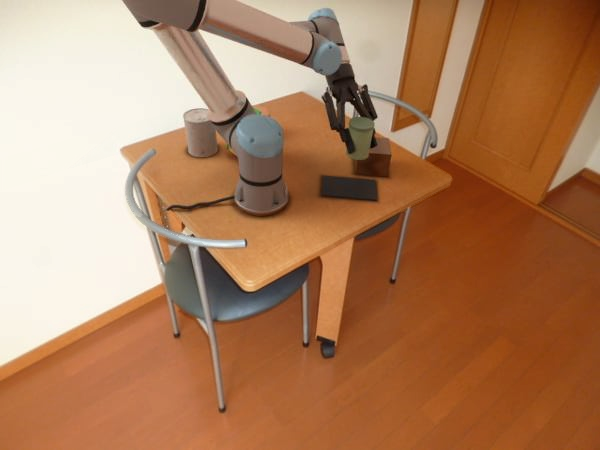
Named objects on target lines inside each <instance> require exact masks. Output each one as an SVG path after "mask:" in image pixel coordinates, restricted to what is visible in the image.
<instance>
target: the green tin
mask: <svg viewBox="0 0 600 450" xmlns="http://www.w3.org/2000/svg"><path fill="white" fill-rule="evenodd" d="M375 125H376V124H375V122H374V121H372V120H371V119H369V118H365V117H360V116H355V117H352V118H350V119H349V122H348V128H349V132H350V135H351V138H352V141H353V144H354V147H355V152H353V153H352V154H348V151H347V148H345V155H346V157H348V158H350V159H351V160H354V161H355V160H364V159H366V158H368V156H369V151H370V145H371V139H372V133H373V129H374V128H375Z"/></svg>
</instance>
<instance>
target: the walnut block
mask: <svg viewBox="0 0 600 450" xmlns="http://www.w3.org/2000/svg"><path fill="white" fill-rule="evenodd" d="M375 138H376V142H377V145H378V146H376V147H374V148H372V149H370V151H369V156H368V158H366V159H364V160H354V174H355V175H362V176H363V175H364V176H376V177H388V173H389V169H390V164H391V161H392V155H393V154H392V148H391V141H390V138H389V137H379V136H378V137H377V136H375Z"/></svg>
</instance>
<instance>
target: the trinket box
mask: <svg viewBox="0 0 600 450" xmlns="http://www.w3.org/2000/svg"><path fill="white" fill-rule="evenodd" d="M252 107H253V108H255V109H257V110H259V111H261V115H266V117H271V111H270V110H269V109H268V108H267V107H265V106H262V105H252Z"/></svg>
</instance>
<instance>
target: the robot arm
mask: <svg viewBox="0 0 600 450" xmlns="http://www.w3.org/2000/svg"><path fill="white" fill-rule="evenodd" d="M121 1H122V3H123V4H124V5H125V7H126V9H128V11H129V12H130V14H131V15H132V16H133V17H134V19H135V20H136V22H137V23H138V24H139V25H140V27H141V28H142V29H145V30H150V31H152V32H153V33H154V34H155V36H156V38H158V40H159V41H160V43H161V44H162V46H163V47H164V48H165V50H166V51H167V52H168V54H169V55H170V57H171V58H172V60H173V61H174V62H175V64H176V65H177V67H178V68H179V70H180V71H181V72H182V73H183V75H184V77H185V79H187V81H188V82H189V83H190V85H191V86H192V87H193V89H194V91H195V92H196V93H197V95H198V96H199V97H200V99H201V100H202V101H203V104H205V105H206V108H207V109H208V112H207V116H208V118H209V119H210V121H211V122H212V124H213V125H214V126H215V129H216V133H217V134H218V135H219V136H220V137H221V138H222V139H223V140H224V141H225V143H226V145H227V144H228V145H229V146H230V147H231V149H232V150H233V151H234V153H235V154H236V155H237V156H236V155H235V156H236V157H237V160H238V172H239V173H238V174H239V178H238V181H237V183H236V186H235V189H234V192H233V195H231V196H226V197H223V198H219V199H216V200H212V201H205V202H203V201H202V202H196V203H194V204H192V205H181V204H171V205H170V206H168V207H167V208H166V209H165V211H166V212H168V211H170V210H172V209H181V210H192V209H195V208H198V207H201V206H202V207H203V206H212V205H215V204H216V205H217V204H219V203H222V202H227V201H231V200H234V205H235V206H236V208H237V209H238V210H239V211H241V212H242V213H245V214H246V215H250V216H254V217H255V216H256V217H266V216H272V215H275V214H278V213H280V212H281V211H283V210H284V209H285V208H286V207H287V205H288V204H289V190H288V185H287V184H286V182H285V180H284V177H283V166H284V165H283V164H284V144H285V138H284V131H283V127H282V125H281V124H280V123H279V121H278V120H276V119H275V118H273V117H271V116H270V117H266V115H261V114H257V113H256V111H255V110H254V108H253V107H252V106H253V105H252V103H251V102H250V101H249V99H248V97H247V96H246V94H245V92H244V91H242V90H238V89H236V88H235V86H234V85H233V84H232V82H231V80H230V79H229V77H228V75H227V74H226V73H225V71H224V68H222V65H220V63H219V61H218V60H217V58H216V57H215V55H214V53H213V52H212V50H211V48H210V46H209V45H208V43H207V42H206V40H205V39H204V37H203V35H202V33H201V32H200V31H203V32H206V33H209V34H212V35H215V36H218V37H220V38H224V39H226V40H230V41H231V42H235V43H238V44H240V45H244V46H247V47H249V48H252V49H256V50H258V51H261V52H263V53H267V54H269V55H272V56H275V57H278V58H280V59H284V60H287V61H289V62H293V63H296V64H297V65H300V66H303V67H306V68H308V69H311V70H313V71H314V72H315V73H316V74H319V75H321V76H324V77H325V79H326V80H325V81H326V83H327V86H328V87H329V90H328V91H325V92H324V93H323V94H321V95H320V97H321V100H322V102H323V103H324V106H325V110H326V115H327V119H328V124H329V127H330V130H331V131H335V132H336V133H339V136H340V141H341V142H342V143H344V144H345V147H346V148H347V151H348V154H352V153H353V152H355V147H354V144H353V141H352V138H351V135H350V132H349V127H346V104H347V103H349V104H350V105H351V106H352V107H354V109H355V111H356V112H357V114H358V115H359V117H365V118H369V119H371V120H372V121H373V122H374V121H376V120H377V119H378V118H379V116H378V113H377V111H376V108H375V106H374V103H373V100H372V98H371V96H370V93H369V86H368V84H367V83H364V84H363V85H361V84H360V85H359V84H358V83H357V81H356V78H355V77H356V76H355V75H356V74H355V71H354V69H353V65H352V64H351V58H350V55H349V52H348V50H347V47H346V44H345V41H344V37H343V34H342V31H341V27H340V23H339V20H338V18H337V16H336V13H335V11H334V10H333V9H331V8H330V7H322V8H320V9H316V10H314V11H313V12H311V13H310V14H309V16H308V18H307V20H300V21H298V20H297V21H287V20H284V19H282V18H279V17H277V16H274V15H272V14H270V13H268V12H265V11H262V10H260V9H258V8H256V7H253V6H250V5H248V4H247V3H245V2H241V1H239V0H121ZM199 30H200V31H199ZM333 98H334V99H335V104H334V100H333ZM335 107H336V108H335ZM375 135H376V127H374V129H373V133H372V139H371V145H370V149H372V148H374V147H376V146H378V145H377V142H376V138H375V137H376V136H375ZM346 148H345V149H346Z"/></svg>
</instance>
